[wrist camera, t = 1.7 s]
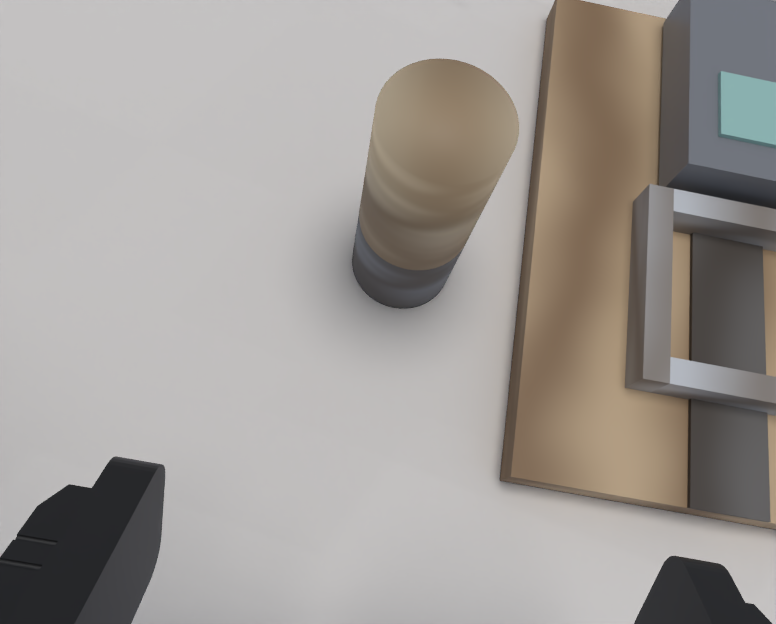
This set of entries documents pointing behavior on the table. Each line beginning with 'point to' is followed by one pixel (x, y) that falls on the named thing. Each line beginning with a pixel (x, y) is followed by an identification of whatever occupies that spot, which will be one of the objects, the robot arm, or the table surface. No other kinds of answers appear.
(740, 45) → the block
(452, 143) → the tan grey cylinder
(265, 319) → the table surface
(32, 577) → the robot arm
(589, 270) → the board
